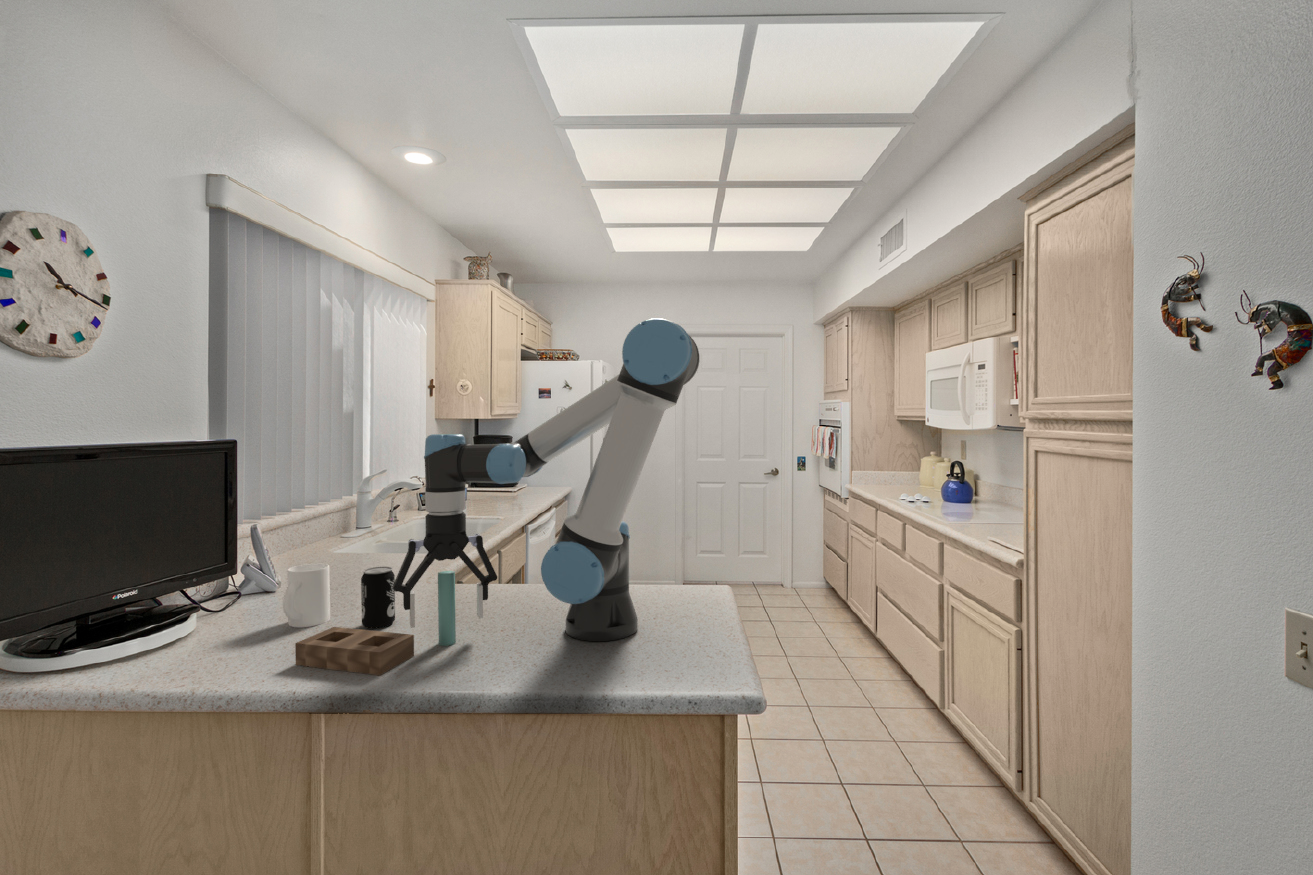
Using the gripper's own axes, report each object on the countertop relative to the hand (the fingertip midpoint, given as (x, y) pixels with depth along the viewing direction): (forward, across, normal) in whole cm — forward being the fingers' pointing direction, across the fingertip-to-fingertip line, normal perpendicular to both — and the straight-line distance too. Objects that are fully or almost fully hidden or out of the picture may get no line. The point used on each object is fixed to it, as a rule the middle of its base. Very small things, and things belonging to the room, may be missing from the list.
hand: (446, 621), depth 119 cm
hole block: (+4, +16, +2) cm, 17 cm away
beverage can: (+5, +12, -18) cm, 22 cm away
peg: (+4, 0, 0) cm, 4 cm away
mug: (+5, +27, -25) cm, 37 cm away
